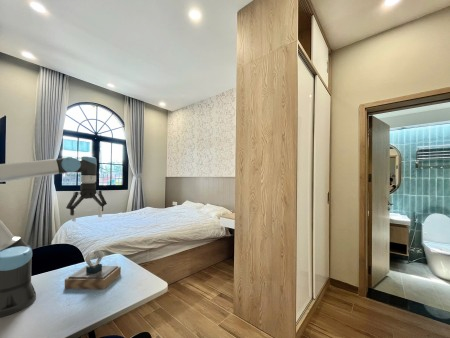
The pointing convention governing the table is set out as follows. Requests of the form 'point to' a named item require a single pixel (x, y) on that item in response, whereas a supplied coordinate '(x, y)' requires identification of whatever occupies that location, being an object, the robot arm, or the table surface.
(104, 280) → the riser
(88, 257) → the watch
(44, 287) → the table surface
